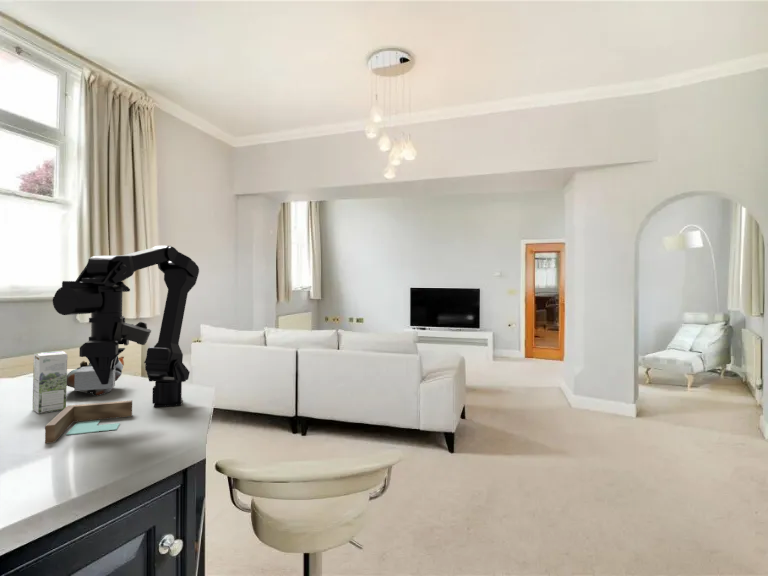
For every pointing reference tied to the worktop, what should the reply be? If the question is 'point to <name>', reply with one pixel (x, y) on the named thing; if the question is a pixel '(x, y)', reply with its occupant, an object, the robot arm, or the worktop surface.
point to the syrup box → (49, 381)
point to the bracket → (91, 379)
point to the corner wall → (85, 416)
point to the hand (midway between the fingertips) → (106, 382)
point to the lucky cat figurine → (71, 375)
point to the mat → (91, 427)
